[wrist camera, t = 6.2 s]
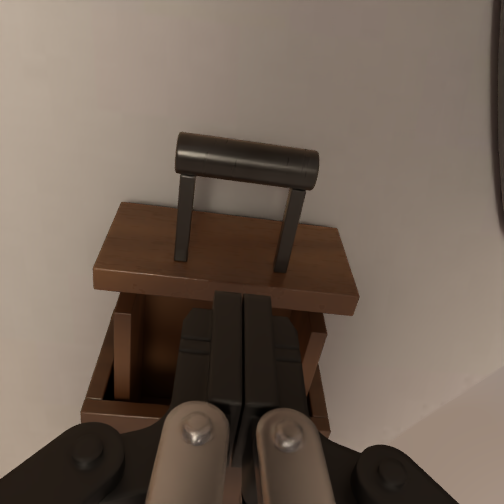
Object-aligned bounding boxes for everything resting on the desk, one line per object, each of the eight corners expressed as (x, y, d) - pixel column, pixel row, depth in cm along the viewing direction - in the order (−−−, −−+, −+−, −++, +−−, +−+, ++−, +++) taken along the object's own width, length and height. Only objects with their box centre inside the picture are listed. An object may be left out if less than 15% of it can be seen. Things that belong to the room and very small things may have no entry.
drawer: (121, 88, 22) (87, 134, 17) (368, 124, 23) (403, 177, 18) (120, 388, 33) (99, 468, 28) (286, 401, 34) (294, 481, 29)
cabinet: (114, 308, 30) (79, 412, 24) (312, 328, 32) (331, 432, 25) (115, 456, 39) (90, 561, 32) (270, 466, 40) (276, 570, 34)
